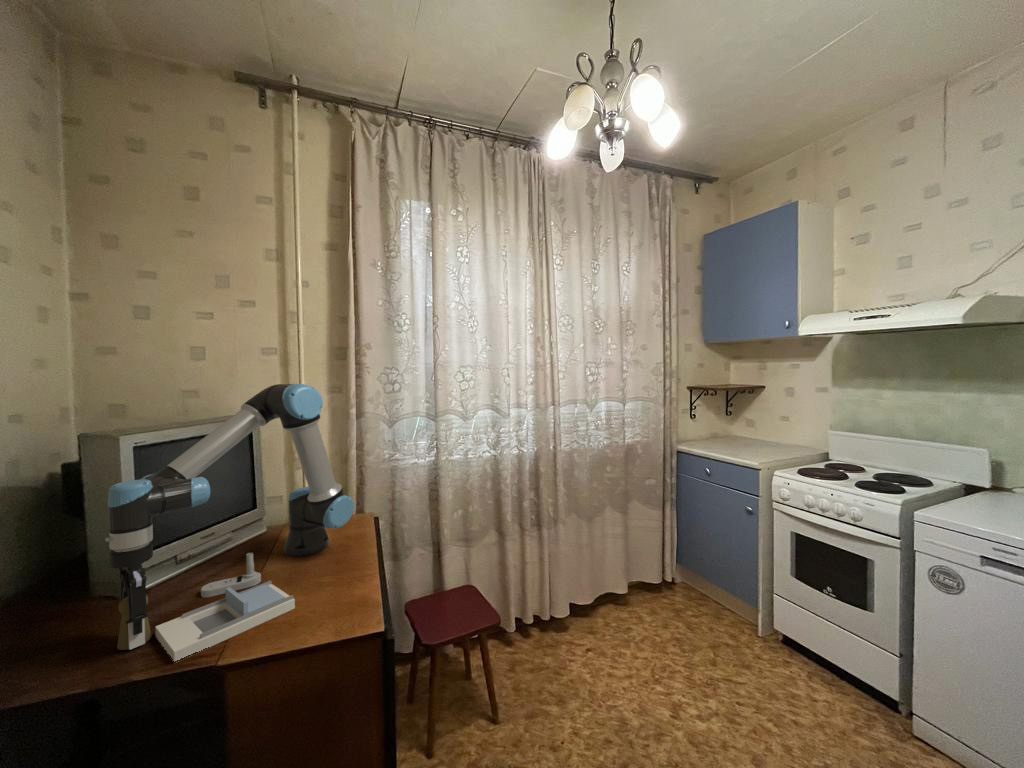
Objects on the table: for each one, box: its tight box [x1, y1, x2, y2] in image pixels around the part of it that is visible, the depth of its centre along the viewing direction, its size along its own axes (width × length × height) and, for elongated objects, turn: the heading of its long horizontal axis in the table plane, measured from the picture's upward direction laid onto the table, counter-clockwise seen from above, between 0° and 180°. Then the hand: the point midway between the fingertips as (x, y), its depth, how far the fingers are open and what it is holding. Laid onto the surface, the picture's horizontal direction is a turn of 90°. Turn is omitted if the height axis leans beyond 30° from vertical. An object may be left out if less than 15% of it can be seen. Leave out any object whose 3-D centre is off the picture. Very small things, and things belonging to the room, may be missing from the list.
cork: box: [116, 594, 152, 651], centre depth 94 cm, size 6×6×11 cm
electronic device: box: [200, 552, 262, 599], centre depth 119 cm, size 5×10×15 cm
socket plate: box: [154, 580, 296, 663], centre depth 102 cm, size 26×16×3 cm, turn 144°
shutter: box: [225, 584, 285, 616], centre depth 107 cm, size 10×12×4 cm
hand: (133, 640), depth 94 cm, fingers closed on cork, 6 cm apart
